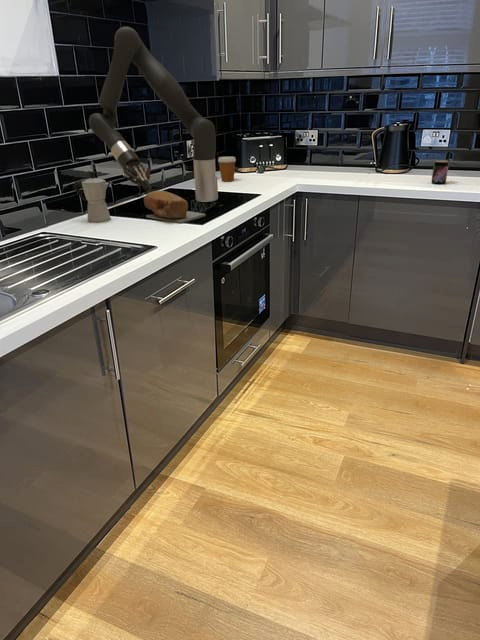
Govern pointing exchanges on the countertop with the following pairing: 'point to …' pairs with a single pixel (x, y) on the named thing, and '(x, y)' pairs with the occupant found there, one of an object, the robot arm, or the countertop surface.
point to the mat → (188, 217)
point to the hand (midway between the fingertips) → (149, 190)
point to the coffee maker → (94, 198)
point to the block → (166, 204)
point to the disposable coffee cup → (227, 168)
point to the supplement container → (440, 172)
